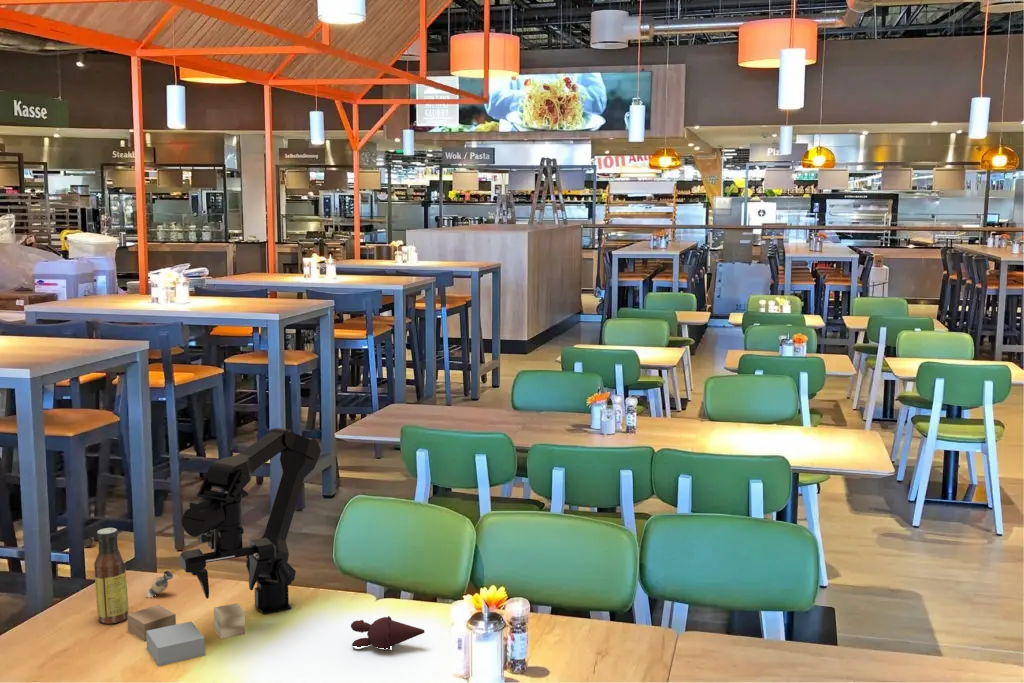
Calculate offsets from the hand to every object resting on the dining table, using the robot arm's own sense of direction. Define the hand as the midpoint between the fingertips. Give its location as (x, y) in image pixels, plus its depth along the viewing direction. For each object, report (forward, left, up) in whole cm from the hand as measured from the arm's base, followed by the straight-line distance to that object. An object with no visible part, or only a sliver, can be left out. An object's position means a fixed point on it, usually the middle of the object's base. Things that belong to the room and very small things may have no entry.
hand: (229, 593), depth 210 cm
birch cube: (0, 0, -8) cm, 8 cm away
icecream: (-26, +23, -9) cm, 36 cm away
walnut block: (+14, -8, -9) cm, 18 cm away
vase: (+8, -26, -9) cm, 29 cm away
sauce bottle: (+20, -18, -9) cm, 28 cm away
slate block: (+12, +4, -9) cm, 15 cm away
